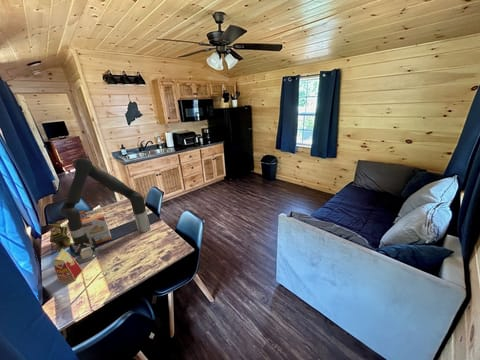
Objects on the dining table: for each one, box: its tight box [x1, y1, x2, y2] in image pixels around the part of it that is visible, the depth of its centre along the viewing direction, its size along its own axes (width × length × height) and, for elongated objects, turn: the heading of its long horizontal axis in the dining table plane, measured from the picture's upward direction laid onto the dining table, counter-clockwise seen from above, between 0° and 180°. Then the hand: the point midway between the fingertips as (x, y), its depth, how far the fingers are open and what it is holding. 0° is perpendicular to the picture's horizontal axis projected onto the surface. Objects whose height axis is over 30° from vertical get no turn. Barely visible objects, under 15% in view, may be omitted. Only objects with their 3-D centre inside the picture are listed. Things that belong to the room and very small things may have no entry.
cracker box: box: [82, 213, 112, 245], centre depth 153 cm, size 14×6×21 cm, turn 125°
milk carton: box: [52, 248, 84, 284], centre depth 121 cm, size 9×9×20 cm
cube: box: [79, 246, 92, 259], centre depth 140 cm, size 5×5×5 cm
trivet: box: [76, 249, 99, 264], centre depth 141 cm, size 12×12×1 cm
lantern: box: [79, 210, 91, 223], centre depth 178 cm, size 10×9×30 cm
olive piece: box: [47, 221, 71, 251], centre depth 150 cm, size 20×10×20 cm, turn 37°
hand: (86, 253), depth 140 cm, fingers open, 8 cm apart
